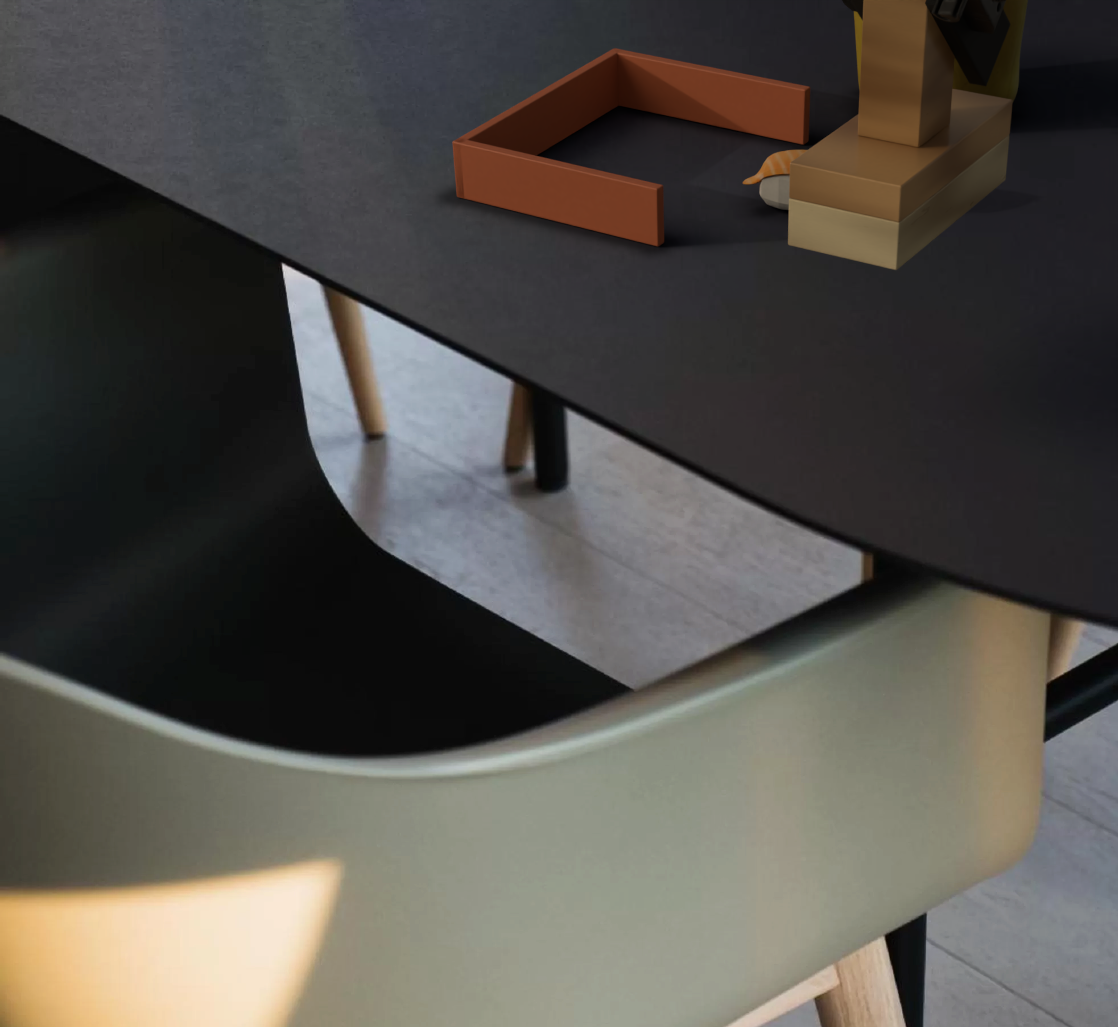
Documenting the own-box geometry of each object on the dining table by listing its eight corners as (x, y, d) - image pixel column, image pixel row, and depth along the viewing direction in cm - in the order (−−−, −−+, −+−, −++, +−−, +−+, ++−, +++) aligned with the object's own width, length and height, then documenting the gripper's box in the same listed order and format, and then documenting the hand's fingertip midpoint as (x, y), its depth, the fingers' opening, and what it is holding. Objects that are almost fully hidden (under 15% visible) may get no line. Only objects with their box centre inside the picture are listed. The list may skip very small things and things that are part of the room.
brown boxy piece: (901, 158, 90) (923, -228, 80) (1006, 180, 88) (1042, -215, 78) (787, 245, 84) (795, -162, 74) (896, 271, 82) (921, -145, 72)
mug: (1032, 119, 107) (998, -83, 104) (847, 160, 112) (808, -31, 108) (1080, 82, 117) (1050, -103, 113) (908, 122, 122) (874, -55, 118)
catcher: (809, 141, 111) (811, 86, 109) (658, 247, 102) (657, 189, 100) (615, 100, 117) (614, 47, 115) (456, 197, 108) (451, 141, 106)
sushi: (858, 224, 103) (861, 165, 101) (736, 211, 105) (736, 154, 103) (871, 202, 105) (874, 145, 103) (750, 190, 107) (750, 134, 105)
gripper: (498, -231, 68) (751, 99, 88) (934, -179, 60) (1098, 168, 81) (581, -447, 67) (815, -65, 88) (1029, -421, 60) (1169, -11, 81)
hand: (950, 46), depth 85 cm, fingers closed on brown boxy piece, 3 cm apart
